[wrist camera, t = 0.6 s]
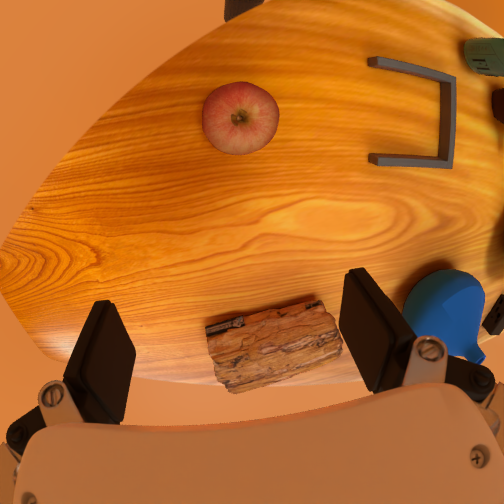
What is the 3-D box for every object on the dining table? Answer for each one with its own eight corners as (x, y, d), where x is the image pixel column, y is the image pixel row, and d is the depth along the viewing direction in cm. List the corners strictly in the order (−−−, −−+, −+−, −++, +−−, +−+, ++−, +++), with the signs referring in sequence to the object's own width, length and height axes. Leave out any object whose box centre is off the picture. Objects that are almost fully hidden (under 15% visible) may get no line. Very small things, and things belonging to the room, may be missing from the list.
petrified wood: (320, 281, 43) (346, 334, 35) (324, 324, 51) (343, 369, 44) (199, 321, 43) (206, 379, 36) (226, 356, 52) (235, 404, 44)
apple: (190, 130, 31) (182, 138, 24) (224, 73, 28) (226, 62, 21) (249, 161, 33) (258, 177, 26) (283, 106, 30) (303, 107, 24)
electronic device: (481, 324, 59) (490, 335, 55) (500, 293, 55) (511, 304, 50) (490, 324, 61) (499, 335, 57) (509, 296, 56) (518, 306, 52)
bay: (367, 58, 28) (377, 56, 26) (445, 76, 29) (456, 77, 26) (368, 161, 35) (377, 166, 33) (442, 164, 36) (452, 169, 34)
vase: (470, 261, 46) (527, 317, 30) (430, 329, 55) (471, 390, 38) (417, 245, 42) (488, 317, 26) (372, 328, 51) (415, 406, 34)
